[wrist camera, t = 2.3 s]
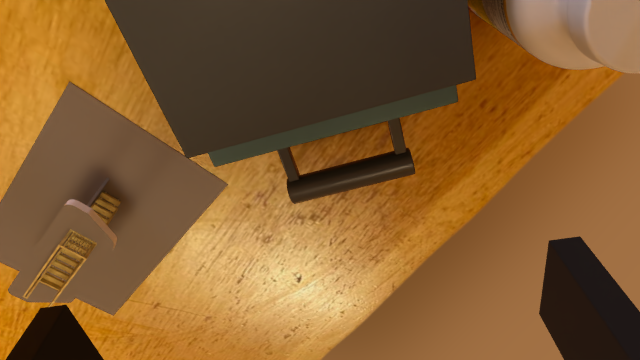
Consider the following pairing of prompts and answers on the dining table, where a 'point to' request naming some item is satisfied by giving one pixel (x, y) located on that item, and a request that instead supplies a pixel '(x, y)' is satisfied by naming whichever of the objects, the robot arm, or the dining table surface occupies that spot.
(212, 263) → the dining table surface
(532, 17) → the supplement bottle
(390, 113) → the teal drawer
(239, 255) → the dining table surface
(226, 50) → the drawer cabinet
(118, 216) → the platform
